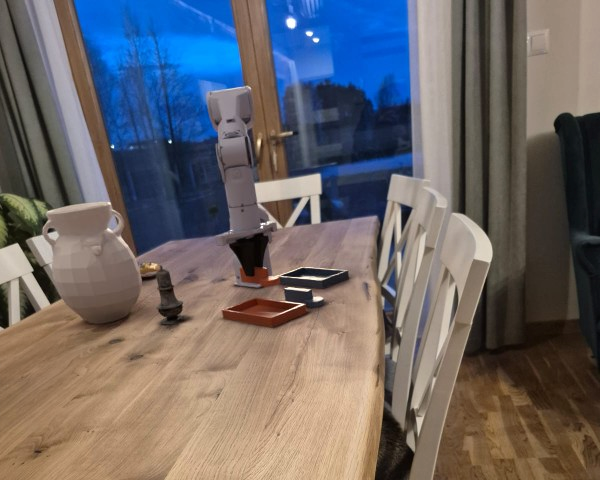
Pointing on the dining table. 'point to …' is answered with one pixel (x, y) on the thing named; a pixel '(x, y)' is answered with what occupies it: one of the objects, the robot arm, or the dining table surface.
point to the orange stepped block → (260, 277)
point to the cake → (148, 268)
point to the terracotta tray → (264, 311)
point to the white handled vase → (93, 262)
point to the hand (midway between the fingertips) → (254, 274)
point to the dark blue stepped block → (302, 297)
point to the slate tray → (313, 277)
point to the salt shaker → (168, 299)
